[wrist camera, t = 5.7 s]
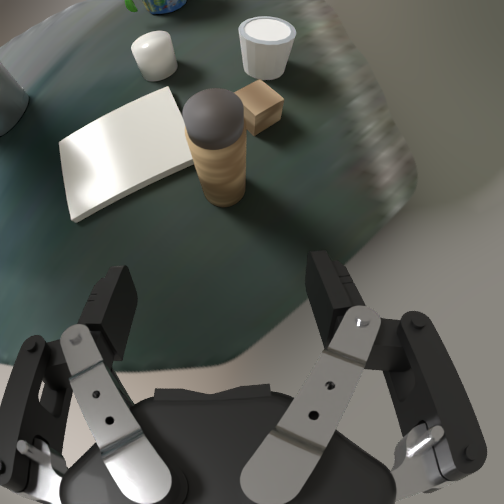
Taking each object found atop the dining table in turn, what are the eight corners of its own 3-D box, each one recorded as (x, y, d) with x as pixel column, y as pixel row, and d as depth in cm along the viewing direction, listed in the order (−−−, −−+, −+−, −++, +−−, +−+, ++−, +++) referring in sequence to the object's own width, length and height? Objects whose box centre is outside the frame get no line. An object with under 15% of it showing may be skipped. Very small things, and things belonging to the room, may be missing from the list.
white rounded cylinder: (149, 86, 33) (138, 59, 27) (137, 69, 34) (126, 43, 28) (183, 69, 33) (176, 40, 28) (169, 53, 34) (161, 26, 29)
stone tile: (76, 222, 29) (71, 219, 28) (63, 146, 31) (58, 142, 30) (201, 161, 31) (200, 155, 29) (169, 91, 32) (168, 86, 31)
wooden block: (254, 136, 31) (255, 115, 27) (232, 115, 32) (231, 94, 28) (280, 120, 32) (284, 99, 28) (258, 100, 33) (259, 79, 29)
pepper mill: (213, 214, 29) (192, 146, 17) (197, 178, 30) (171, 100, 17) (252, 196, 30) (258, 121, 17) (235, 162, 31) (230, 79, 18)
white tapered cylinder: (277, 89, 33) (283, 50, 26) (229, 73, 33) (228, 35, 26) (296, 61, 34) (304, 25, 27) (252, 47, 35) (253, 11, 28)
